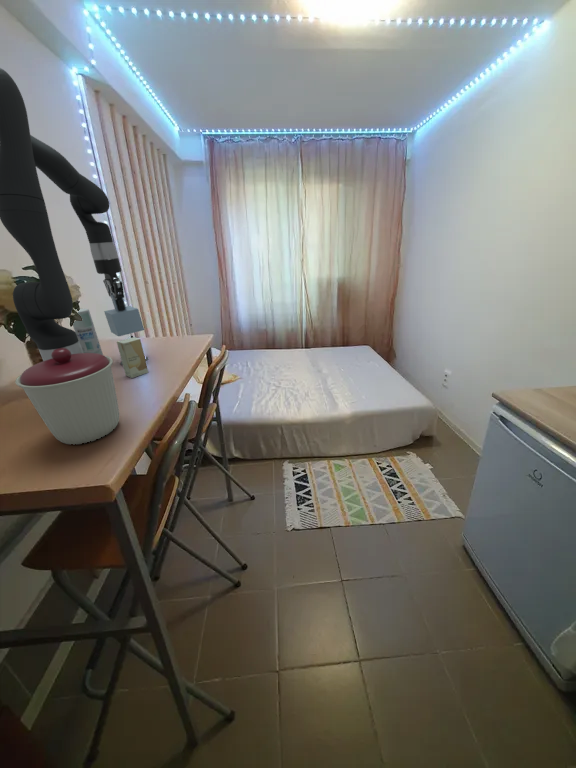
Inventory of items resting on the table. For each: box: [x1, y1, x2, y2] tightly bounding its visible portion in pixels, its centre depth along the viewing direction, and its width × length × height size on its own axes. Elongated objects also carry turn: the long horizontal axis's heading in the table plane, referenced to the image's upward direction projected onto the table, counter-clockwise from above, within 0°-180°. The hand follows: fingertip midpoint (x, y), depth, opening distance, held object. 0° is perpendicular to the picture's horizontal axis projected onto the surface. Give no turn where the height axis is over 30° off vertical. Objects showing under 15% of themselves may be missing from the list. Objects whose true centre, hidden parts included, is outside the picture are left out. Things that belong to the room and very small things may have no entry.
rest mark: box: [120, 355, 149, 366], centre depth 121 cm, size 10×10×1 cm
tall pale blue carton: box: [72, 308, 104, 355], centre depth 118 cm, size 6×6×20 cm
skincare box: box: [116, 336, 149, 379], centre depth 106 cm, size 6×4×12 cm
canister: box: [14, 348, 120, 445], centre depth 72 cm, size 18×18×21 cm
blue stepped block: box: [103, 293, 145, 337], centre depth 113 cm, size 9×9×13 cm
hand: (120, 309), depth 113 cm, fingers closed on blue stepped block, 3 cm apart
